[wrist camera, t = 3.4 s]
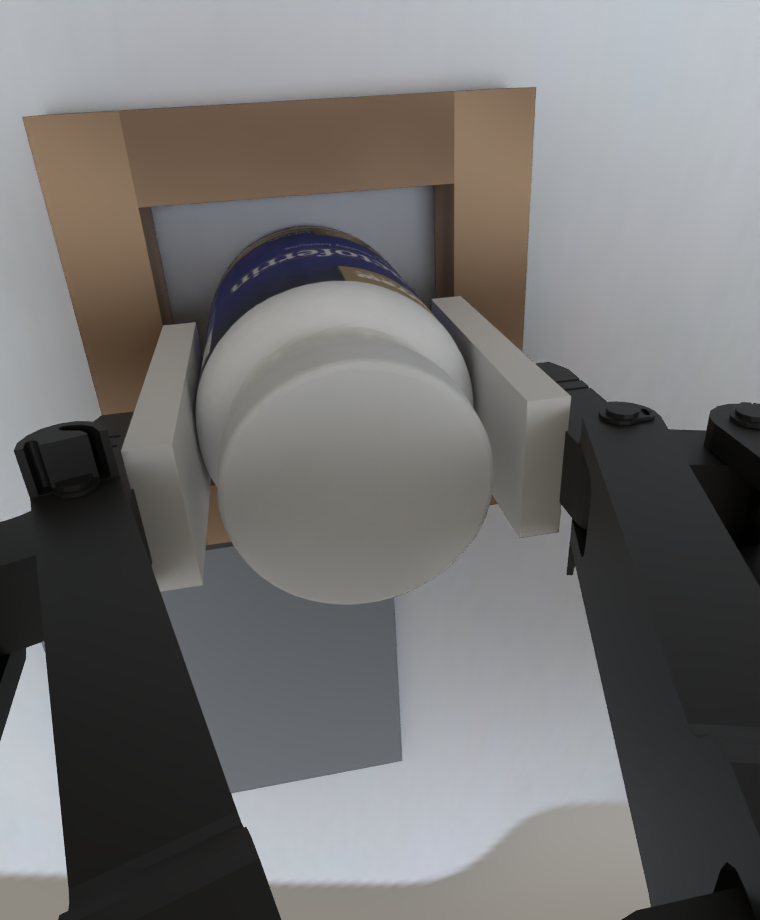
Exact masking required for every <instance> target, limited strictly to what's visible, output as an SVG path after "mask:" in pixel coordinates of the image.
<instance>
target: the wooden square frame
mask: <svg viewBox="0 0 760 920" xmlns="http://www.w3.org/2000/svg"><path fill="white" fill-rule="evenodd" d="M535 98H536V87H526V88H501V89H484V90H466V91H449V92H432V93H415V94H397V95H380V96H363V97H345V98H328V99H311V100H294V101H276V102H259V103H242V104H224V105H207V106H190V107H173V108H155V109H138V110H121V111H103V112H86V113H69V114H52V115H38V116H27V117H22V118H23V122H24V125H25V129H26V133H27V137H28V140H29V144H30V148H31V152H32V155H33V159H34V163H35V167H36V170H37V174H38V178H39V181H40V185H41V189H42V193H43V196H44V200H45V204H46V208H47V211H48V215H49V219H50V222H51V226H52V230H53V234H54V237H55V241H56V245H57V249H58V252H59V256H60V260H61V264H62V267H63V271H64V275H65V278H66V282H67V286H68V290H69V293H70V297H71V301H72V305H73V308H74V312H75V316H76V320H77V323H78V327H79V331H80V334H81V338H82V342H83V346H84V349H85V353H86V357H87V361H88V364H89V368H90V372H91V376H92V379H93V383H94V387H95V390H96V394H97V398H98V402H99V405H100V409H101V413H102V415H108V414H116V413H125V412H134V411H135V408H136V405H137V402H138V399H139V396H140V393H141V390H142V387H143V384H144V381H145V378H146V375H147V372H148V369H149V366H150V363H151V360H152V357H153V354H154V351H155V348H156V345H157V342H158V339H159V336H160V333H161V330H162V328H163V326H164V325H174V323H173V318H172V313H171V308H170V303H169V298H168V293H167V288H166V283H165V278H164V273H163V268H162V263H161V258H160V253H159V248H158V243H157V238H156V233H155V227H154V222H153V217H152V212H151V207H153V206H167V205H180V204H193V203H206V202H219V201H232V200H245V199H258V198H271V197H284V196H298V195H311V194H324V193H337V192H350V191H363V190H376V189H389V188H402V187H415V186H428V185H435V275H436V298H446V297H456V296H461V297H462V298H463V299H464V300H466V301H467V302H468V303H469V304H470V305H471V306H472V307H473V308H474V309H475V310H477V311H478V312H479V313H480V314H481V315H482V316H483V317H484V318H485V319H486V320H488V321H489V322H490V323H491V324H492V325H493V326H494V327H495V328H496V329H498V330H499V331H500V332H501V333H502V334H503V335H504V336H505V337H506V338H507V339H509V340H510V341H511V342H512V343H513V344H514V345H515V346H516V347H517V348H518V349H520V350H521V351H522V347H523V328H524V309H525V290H526V271H527V251H528V232H529V213H530V194H531V174H532V155H533V136H534V117H535ZM494 504H498V503H497V501H496V500H495V498H494V497H493V495H492V498H491V502H490V505H494ZM226 542H231V540H230V538H229V536H228V534H227V532H226V530H225V527H224V524H223V522H222V519H221V515H220V511H219V505H218V497H217V486H216V485H215V483H214V482H213V480H212V478H211V483H210V496H209V510H208V523H207V536H206V545H212V544H219V543H226Z"/></svg>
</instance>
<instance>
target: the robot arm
mask: <svg viewBox="0 0 760 920" xmlns="http://www.w3.org/2000/svg"><path fill="white" fill-rule="evenodd" d="M431 312H432V313H433V314H434V316H435V317H436V318H437V319H438V320H439V321H440V323H441V324H442V325H443V326H444V327H445V329H446V330H447V331H448V332H449V334H450V335H451V337H452V338H453V340H454V342H455V343H456V345H457V347H458V349H459V351H460V353H461V354H462V356H463V359H464V361H465V363H466V366H467V369H468V372H469V376H470V379H471V383H472V389H473V396H474V410H475V412H476V413H477V415H478V417H479V418H480V420H481V422H482V424H483V426H484V428H485V430H486V432H487V434H488V438H489V441H490V444H491V448H492V453H493V459H494V489H493V493H492V495H493V497H494V498H495V500H496V501H497V503H498V505H499V506H500V508H501V509H502V511H503V512H504V514H505V516H506V517H507V519H508V520H509V522H510V524H511V525H512V527H513V528H514V530H515V531H516V533H517V535H518V536H519V538H523V537H530V536H536V535H543V534H550V533H557V532H559V524H560V513H561V504H562V506H563V507H564V508H565V509H566V511H567V512H568V513H569V514H570V516H571V517H572V526H571V536H570V546H569V556H568V566H567V575H573V571H574V567H576V570H577V574H578V579H579V583H580V588H581V592H582V597H583V601H584V606H585V610H586V615H587V619H588V624H589V628H590V633H591V637H592V641H593V646H594V650H595V655H596V659H597V664H598V668H599V673H600V677H601V682H602V686H603V691H604V695H605V700H606V704H607V709H608V713H609V718H610V722H611V726H612V731H613V735H614V740H615V744H616V749H617V753H618V758H619V762H620V767H621V771H622V776H623V780H624V785H625V789H626V794H627V798H628V803H629V807H630V811H631V816H632V820H633V824H634V829H635V833H636V838H637V843H638V847H639V852H640V856H641V860H642V865H643V870H644V874H645V878H646V883H647V888H648V892H649V898H650V904H651V907H650V908H646V909H641V910H637V911H635V912H633V913H632V914H630V915H628V916H627V917H625V918H624V919H622V920H760V404H756V403H753V404H751V403H747V402H742V403H740V404H727V405H722V406H717V407H716V408H714V409H713V410H711V411H710V415H709V420H708V425H707V430H706V431H700V430H671V429H668V428H667V426H666V424H665V423H664V421H663V419H662V418H661V416H660V415H658V414H657V413H656V412H655V411H654V410H651V409H650V408H647V407H645V406H641V405H637V404H633V403H626V402H607V401H606V400H604V399H603V398H602V397H601V396H600V395H598V394H597V393H596V392H595V391H594V390H592V389H591V388H588V385H586V384H585V383H584V382H583V381H582V380H581V381H580V380H579V378H578V377H577V376H576V375H574V374H573V373H572V372H571V371H570V370H568V369H566V368H564V367H561V366H558V365H556V364H553V363H550V362H546V363H537V364H535V363H534V362H533V361H532V360H531V359H529V358H528V357H527V356H526V355H525V354H524V353H523V352H522V351H521V350H520V349H518V348H517V347H516V346H515V345H514V344H513V343H512V342H511V341H510V340H509V339H507V338H506V337H505V336H504V335H503V334H502V333H501V332H500V331H499V330H498V329H496V328H495V327H494V326H493V325H492V324H491V323H490V322H489V321H488V320H486V319H485V318H484V317H483V316H482V315H481V314H480V313H479V312H478V311H477V310H475V309H474V308H473V307H472V306H471V305H470V304H469V303H468V302H467V301H466V300H464V299H463V298H462V297H461V296H456V297H446V298H436V299H431ZM202 360H203V358H202V353H201V347H200V342H199V336H198V331H197V325H196V322H194V323H184V324H174V325H164V326H163V328H162V330H161V333H160V336H159V339H158V342H157V345H156V348H155V351H154V354H153V357H152V360H151V363H150V366H149V369H148V372H147V375H146V378H145V381H144V384H143V387H142V390H141V393H140V396H139V399H138V402H137V405H136V408H135V411H134V412H125V413H116V414H108V415H102V416H100V417H99V418H98V419H97V420H95V421H94V422H89V421H75V422H68V423H62V424H57V425H53V426H50V427H46V428H43V429H40V430H38V431H36V432H34V433H32V434H29V435H27V436H26V437H25V438H23V439H22V440H21V441H19V442H18V443H17V445H16V447H15V449H14V453H15V456H16V459H17V462H18V465H19V467H20V470H21V473H22V476H23V479H24V482H25V485H26V488H27V491H28V493H29V496H30V501H31V511H30V512H27V513H25V514H23V515H21V516H18V517H15V518H12V519H9V520H6V521H2V522H0V740H1V737H2V734H3V730H4V727H5V724H6V721H7V718H8V714H9V711H10V708H11V705H12V701H13V698H14V695H15V692H16V689H17V685H18V682H19V679H20V676H21V673H22V669H23V666H24V663H25V660H26V647H29V646H32V645H35V644H37V643H40V642H43V641H44V643H45V653H46V663H47V673H48V683H49V694H50V704H51V714H52V724H53V734H54V744H55V755H56V765H57V775H58V785H59V795H60V805H61V815H62V826H63V836H64V846H65V856H66V866H67V876H68V887H69V909H68V911H67V912H65V913H63V914H61V915H59V919H58V920H281V918H280V915H279V912H278V909H277V907H276V904H275V901H274V898H273V895H272V893H271V890H270V887H269V884H268V881H267V879H266V876H265V873H264V870H263V867H262V865H261V862H260V859H259V856H258V854H257V851H256V848H255V846H254V843H253V840H252V838H251V836H250V833H249V831H248V829H247V827H243V825H242V823H241V820H240V818H239V815H238V812H237V809H236V807H235V804H234V801H233V798H232V795H231V792H230V789H229V787H228V784H227V781H226V778H225V775H224V772H223V769H222V767H221V764H220V761H219V758H218V755H217V752H216V749H215V747H214V744H213V741H212V738H211V735H210V732H209V729H208V727H207V724H206V721H205V718H204V715H203V712H202V709H201V707H200V704H199V701H198V698H197V695H196V692H195V689H194V687H193V684H192V681H191V678H190V675H189V672H188V669H187V667H186V664H185V661H184V658H183V655H182V652H181V649H180V647H179V644H178V641H177V638H176V635H175V632H174V629H173V627H172V624H171V621H170V618H169V615H168V612H167V609H166V606H165V604H164V601H163V598H162V595H161V591H168V590H175V589H181V588H188V587H195V586H201V585H203V575H204V562H205V549H206V536H207V523H208V510H209V496H210V483H211V476H210V474H209V473H208V471H207V468H206V466H205V464H204V461H203V458H202V455H201V452H200V448H199V444H198V439H197V432H196V417H195V411H196V394H197V388H198V383H199V377H200V372H201V366H202Z"/></svg>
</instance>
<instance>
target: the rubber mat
mask: <svg viewBox="0 0 760 920" xmlns="http://www.w3.org/2000/svg"><path fill="white" fill-rule="evenodd" d="M161 595H162V598H163V601H164V604H165V606H166V609H167V612H168V615H169V618H170V621H171V624H172V627H173V629H174V632H175V635H176V638H177V641H178V644H179V647H180V649H181V652H182V655H183V658H184V661H185V664H186V667H187V669H188V672H189V675H190V678H191V681H192V684H193V687H194V689H195V692H196V695H197V698H198V701H199V704H200V707H201V709H202V712H203V715H204V718H205V721H206V724H207V727H208V729H209V732H210V735H211V738H212V741H213V744H214V747H215V749H216V752H217V755H218V758H219V761H220V764H221V767H222V769H223V772H224V775H225V778H226V781H227V784H228V787H229V789H230V792H231V793H235V792H241V791H246V790H251V789H256V788H262V787H267V786H272V785H277V784H283V783H288V782H293V781H298V780H304V779H309V778H314V777H320V776H325V775H330V774H335V773H341V772H346V771H351V770H356V769H362V768H367V767H372V766H377V765H383V764H388V763H393V762H398V761H402V747H401V727H400V708H399V688H398V669H397V649H396V630H395V610H394V597H393V598H389V599H385V600H381V601H377V602H370V603H363V604H353V605H342V604H329V603H321V602H316V601H311V600H307V599H304V598H301V597H297V596H295V595H292V594H290V593H288V592H286V591H284V590H282V589H280V588H278V587H276V586H274V585H273V584H271V583H270V582H268V581H267V580H265V579H264V578H262V577H261V576H260V575H259V574H258V573H256V572H255V571H254V570H253V569H252V568H251V567H250V566H249V565H248V564H247V563H246V562H245V560H244V559H243V558H242V557H241V555H240V554H239V553H238V551H237V550H236V549H235V547H234V545H233V544H232V542H226V543H219V544H212V545H206V549H205V562H204V575H203V585H201V586H195V587H188V588H181V589H175V590H168V591H161ZM42 645H43V648H44V650H45V643H44V641H43V642H42Z"/></svg>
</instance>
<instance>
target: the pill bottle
mask: <svg viewBox="0 0 760 920" xmlns="http://www.w3.org/2000/svg"><path fill="white" fill-rule="evenodd" d="M195 417H196V432H197V439H198V444H199V448H200V452H201V455H202V458H203V461H204V464H205V466H206V468H207V471H208V473H209V474H210V476H211V478H212V480H213V482H214V483H215V485H216V486H217V497H218V505H219V511H220V515H221V519H222V522H223V524H224V527H225V530H226V532H227V534H228V536H229V538H230V540H231V542H232V544H233V545H234V547H235V549H236V550H237V551H238V553H239V554H240V555H241V557H242V558H243V559H244V560H245V562H246V563H247V564H248V565H249V566H250V567H251V568H252V569H253V570H254V571H255V572H256V573H258V574H259V575H260V576H261V577H262V578H264V579H265V580H267V581H268V582H270V583H271V584H273V585H274V586H276V587H278V588H280V589H282V590H284V591H286V592H288V593H290V594H292V595H295V596H297V597H301V598H304V599H307V600H311V601H316V602H321V603H329V604H342V605H353V604H363V603H370V602H377V601H381V600H385V599H389V598H393V597H396V596H398V595H401V594H404V593H407V592H409V591H411V590H413V589H415V588H417V587H419V586H421V585H423V584H424V583H426V582H428V581H430V580H432V579H433V578H435V577H436V576H437V575H439V574H440V573H442V572H443V571H445V570H446V569H447V568H448V567H449V566H450V565H451V564H452V563H453V562H454V561H455V560H456V559H457V558H458V557H459V556H460V555H461V554H462V553H463V552H464V551H465V550H466V548H467V547H468V546H469V545H470V543H471V542H472V540H473V539H474V538H475V536H476V534H477V533H478V531H479V529H480V527H481V525H482V523H483V521H484V519H485V517H486V514H487V511H488V508H489V505H490V502H491V498H492V493H493V489H494V459H493V453H492V448H491V444H490V441H489V438H488V434H487V432H486V430H485V428H484V426H483V424H482V422H481V420H480V418H479V417H478V415H477V413H476V412H475V410H474V396H473V389H472V383H471V379H470V376H469V372H468V369H467V366H466V363H465V361H464V359H463V356H462V354H461V353H460V351H459V349H458V347H457V345H456V343H455V342H454V340H453V338H452V337H451V335H450V334H449V332H448V331H447V330H446V329H445V327H444V326H443V325H442V324H441V323H440V321H439V320H438V319H437V318H436V317H435V316H434V314H433V313H432V312H431V311H430V310H429V309H428V308H427V307H426V305H425V304H424V303H423V302H422V301H421V300H420V298H419V297H418V296H417V295H416V294H415V292H414V291H413V290H412V289H411V288H410V287H409V286H408V285H407V284H406V283H405V282H404V280H403V279H402V278H401V277H400V276H399V275H398V273H397V272H396V271H395V270H394V269H393V268H392V267H391V265H390V264H389V263H388V262H387V261H386V260H385V259H384V258H383V257H382V256H381V255H380V254H379V253H377V252H376V251H375V250H374V249H373V248H371V247H370V246H369V245H367V244H366V243H364V242H362V241H361V240H359V239H357V238H355V237H353V236H351V235H349V234H346V233H344V232H341V231H337V230H334V229H330V228H324V227H297V228H291V229H287V230H283V231H280V232H276V233H274V234H271V235H269V236H266V237H264V238H262V239H261V240H259V241H257V242H255V243H254V244H252V245H251V246H250V247H248V248H247V249H246V250H244V251H243V252H242V253H241V254H240V255H239V256H238V257H237V258H236V259H235V261H234V262H233V263H232V264H231V265H230V267H229V268H228V270H227V271H226V273H225V274H224V276H223V278H222V280H221V282H220V284H219V286H218V288H217V291H216V293H215V296H214V299H213V302H212V307H211V312H210V317H209V323H208V330H207V336H206V342H205V349H204V354H203V360H202V366H201V372H200V377H199V383H198V388H197V394H196V411H195Z"/></svg>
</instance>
